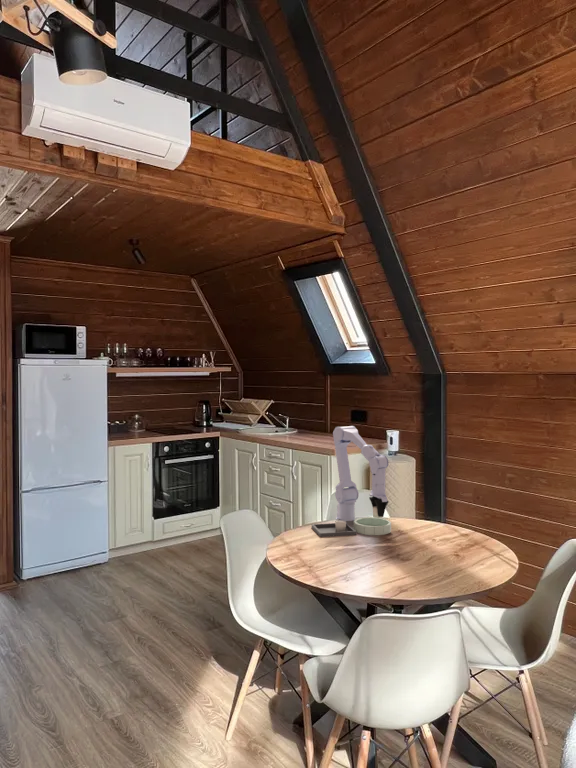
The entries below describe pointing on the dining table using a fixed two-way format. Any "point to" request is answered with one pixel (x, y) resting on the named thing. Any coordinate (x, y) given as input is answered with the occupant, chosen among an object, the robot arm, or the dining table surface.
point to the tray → (331, 530)
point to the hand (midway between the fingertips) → (378, 515)
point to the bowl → (372, 526)
